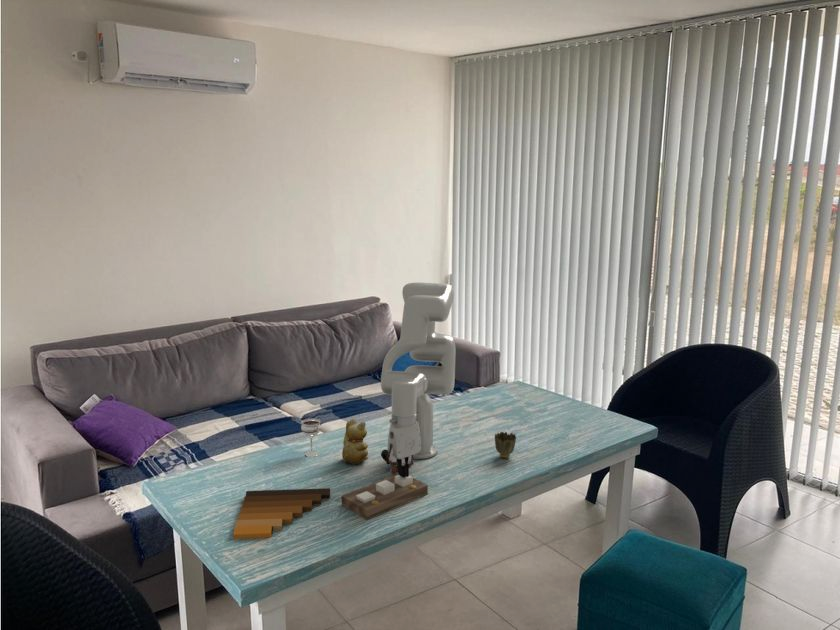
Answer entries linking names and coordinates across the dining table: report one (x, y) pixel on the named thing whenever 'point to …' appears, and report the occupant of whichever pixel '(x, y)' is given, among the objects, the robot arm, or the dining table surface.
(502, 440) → the dark tapered rough piece
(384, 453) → the pottery mug
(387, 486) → the button middle
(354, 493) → the button board
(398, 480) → the button
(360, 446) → the decorative figurine
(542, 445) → the dining table surface
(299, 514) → the pan flute
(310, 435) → the wineglass
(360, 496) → the button
